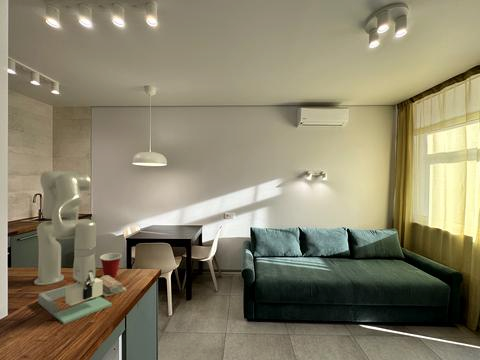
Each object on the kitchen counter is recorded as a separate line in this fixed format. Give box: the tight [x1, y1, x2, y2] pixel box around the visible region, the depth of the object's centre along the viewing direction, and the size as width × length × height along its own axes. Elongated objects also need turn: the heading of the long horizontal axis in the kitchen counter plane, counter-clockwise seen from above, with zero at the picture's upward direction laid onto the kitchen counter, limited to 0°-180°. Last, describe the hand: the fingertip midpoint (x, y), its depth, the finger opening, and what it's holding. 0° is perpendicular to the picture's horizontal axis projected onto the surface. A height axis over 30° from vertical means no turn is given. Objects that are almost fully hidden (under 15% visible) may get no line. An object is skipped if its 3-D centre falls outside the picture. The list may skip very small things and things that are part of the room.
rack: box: [37, 282, 100, 315], centre depth 112 cm, size 16×18×4 cm
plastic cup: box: [99, 252, 123, 279], centre depth 140 cm, size 11×11×12 cm
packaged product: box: [97, 275, 127, 298], centre depth 126 cm, size 18×5×10 cm
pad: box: [53, 296, 113, 325], centre depth 104 cm, size 10×18×1 cm, turn 145°
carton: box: [64, 277, 103, 307], centre depth 104 cm, size 5×12×6 cm, turn 145°
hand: (84, 295), depth 104 cm, fingers closed on carton, 5 cm apart
